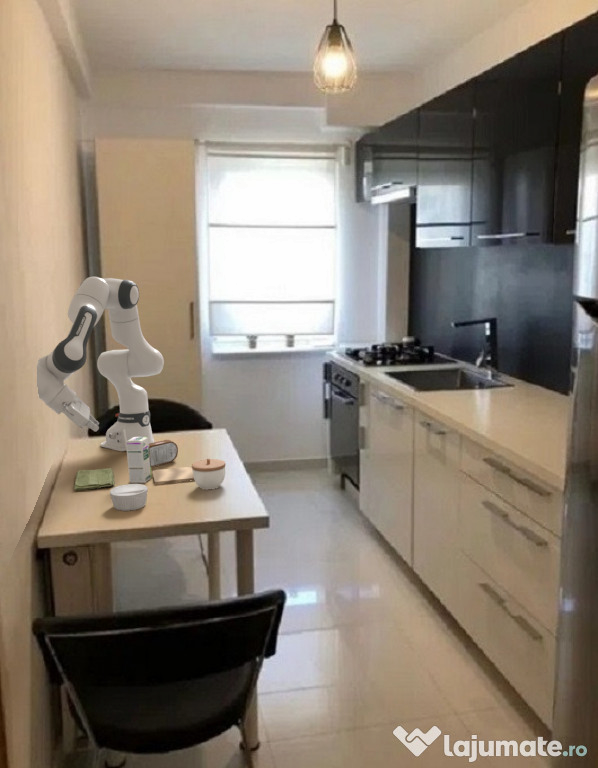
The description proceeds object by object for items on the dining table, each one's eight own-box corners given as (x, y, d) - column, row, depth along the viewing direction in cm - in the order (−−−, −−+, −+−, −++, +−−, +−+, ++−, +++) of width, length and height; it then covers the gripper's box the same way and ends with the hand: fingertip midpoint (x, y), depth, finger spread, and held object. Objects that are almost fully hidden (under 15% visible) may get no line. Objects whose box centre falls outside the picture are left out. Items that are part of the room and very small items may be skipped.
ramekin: (125, 515, 208) (124, 497, 207) (103, 507, 215) (101, 490, 214) (156, 504, 216) (155, 487, 215) (134, 497, 223) (132, 481, 223)
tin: (175, 459, 266) (173, 437, 265) (180, 460, 264) (178, 438, 262) (140, 468, 256) (138, 445, 254) (144, 470, 254) (143, 446, 252)
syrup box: (145, 483, 238) (142, 440, 235) (128, 482, 239) (125, 440, 236) (152, 478, 243) (149, 436, 241) (136, 477, 244) (132, 436, 242)
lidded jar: (217, 493, 225) (215, 464, 223) (187, 490, 228) (185, 462, 227) (232, 483, 234) (230, 455, 233) (202, 480, 238) (201, 453, 237)
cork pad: (155, 484, 235) (154, 482, 235) (152, 473, 249) (152, 470, 249) (197, 480, 239) (197, 477, 239) (192, 469, 252) (192, 466, 252)
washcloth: (73, 493, 231) (72, 484, 230) (76, 478, 248) (75, 469, 247) (115, 489, 234) (114, 479, 233) (115, 474, 251) (114, 465, 250)
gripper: (68, 398, 221) (104, 426, 225) (71, 388, 240) (104, 414, 244) (54, 414, 221) (90, 442, 225) (59, 402, 240) (91, 428, 244)
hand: (97, 427), depth 235 cm, fingers open, 5 cm apart
